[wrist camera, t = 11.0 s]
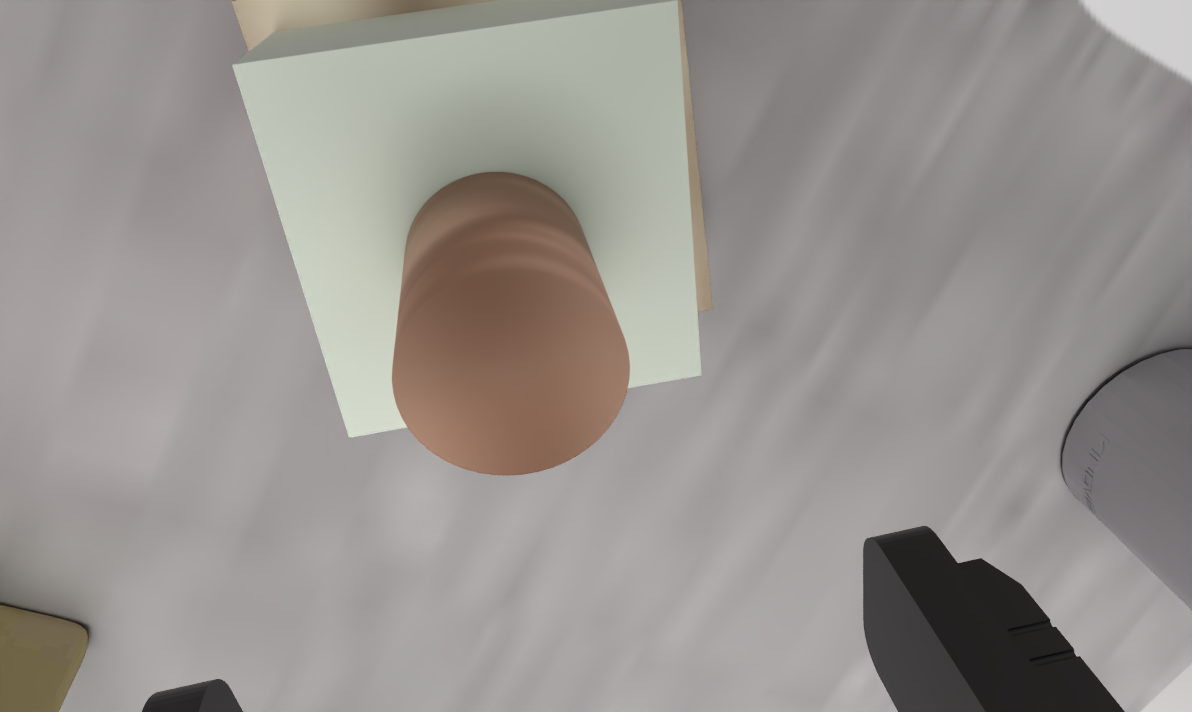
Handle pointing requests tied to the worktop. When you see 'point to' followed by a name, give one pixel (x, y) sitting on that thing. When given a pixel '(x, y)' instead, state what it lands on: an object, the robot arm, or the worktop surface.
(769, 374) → the worktop surface
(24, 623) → the cheese
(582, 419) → the round block
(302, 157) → the top block
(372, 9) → the bottom block
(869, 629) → the robot arm
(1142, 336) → the worktop surface
